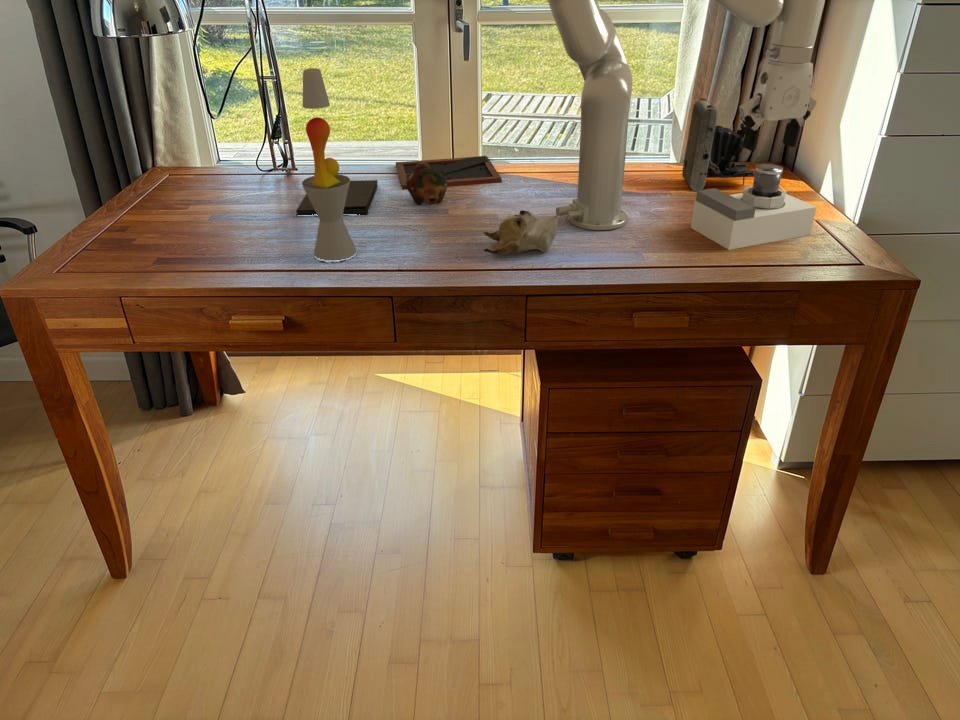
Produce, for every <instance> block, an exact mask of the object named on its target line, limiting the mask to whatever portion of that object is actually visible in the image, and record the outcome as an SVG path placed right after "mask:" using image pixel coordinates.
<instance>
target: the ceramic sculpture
mask: <svg viewBox="0 0 960 720" xmlns="http://www.w3.org/2000/svg"><path fill="white" fill-rule="evenodd" d="M558 225H559V216H557V214H555V215H553V216H546V217H545V218H537V217H536V216H535V215H534V213H532V212H530V211H529V210H521V209H520V211H519V214H514V215H508V216H506V217H505V218H504V219H503V220H502V221H501V223H500V224H499V227H498V228H499V229H498V230H496V231H492V232H490V231H483V234H484V235H485V236H486V237H488V238H489V239H491V240H494V241H495V242H493V243H492V244H491V245H490V246H489V247H487V248H483V251H484V252H485V253H489V254H492V255H496V256H497V255H498V256H505V255H510V254H512V253H514V254H515V253H523V252H527V251H532V250H537V249H538V250H539V251H541V252H542V253H547V252H548V251H549V250H550V249H551V247H552V244H553V242H554V239H555V238H556V237H557V230H558Z"/></svg>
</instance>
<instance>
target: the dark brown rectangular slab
mask: <svg viewBox="0 0 960 720" xmlns="http://www.w3.org/2000/svg"><path fill="white" fill-rule="evenodd" d="M377 190H378V180H377V179H374V180H372V179H370V180H367V179H365V180H359V179H358V180H350V184H349V189H348V193H347V197H346V202H345V206H344V211H343V214H357V215H359V214H360V215H367V216H368V213H369V211H368V210H370V208H371V206H372V203H371V202H373V199H374V197H375V194H376V192H377ZM299 203H300V204H299V205H298V206H297V209H296V210H295V211H296V216H297V215H312V214H313V215H314V214H317V213H316V211H315V209H314V207H313V205H312V203H311V201H310V199H309V198H308V196H307V194H305V195H304V197H303V199H302V200H301V201H300V202H299ZM369 207H370V208H369Z"/></svg>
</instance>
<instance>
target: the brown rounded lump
mask: <svg viewBox="0 0 960 720" xmlns="http://www.w3.org/2000/svg"><path fill="white" fill-rule="evenodd" d="M406 187H407V189H408V190H407V191H408V193H409V194H410V196H411V198H412V200H413V202H414V204H415V205H417V206H421V205H422V204H423V203H424V202H425V203H427V204H428V205H430V206H431V205H432V206H433V205H436V204H441V203H442V202H443V201H444V200H443V199H444V198H445V196H446V192H447V189H448V187H447V181H446V179H445V177H444V176H443V175H442V174H441V173H440V172H438V171H436V170H434V169H431V168H430V166H429V165H428V164H427V163H425V162H420V163H418V164H417V165H416V167H415V172H413V173H412V174H411V175H410V176H409V177H408V178H407V181H406Z"/></svg>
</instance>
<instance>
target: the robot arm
mask: <svg viewBox="0 0 960 720" xmlns="http://www.w3.org/2000/svg"><path fill="white" fill-rule="evenodd" d="M547 2H548V6H549V8H550V11H551V14H552V16H553V20H554V22H555V24H556V28H557V30H558V33H559V36H560V38H561V41H562V44H563V48H564V50H565V53H566V54H567V56H568V57H569V58H570V59H571V60H572V61H573V62H575V63H577V66H578V68H579V70H580V73H581V76H582V78H583V81H584V83H583V86H582V90H581V97H580V131H579V132H580V136H579V137H580V138H579V156H578V157H579V158H578V159H579V160H578V177H577V179H578V180H577V194H576V195H577V196H576V197H577V198H573V199H572V202H571V203H570V204H568V205H563V206H556V208H555V215H557V216H558V217H562V216H566V217H567V219H568V220H569V222H570V223H571V224H572V225H573V226H575V227H577V228H581V229H585V230H593V231H609V230H615V229H619V228H622V227H623V226H625V225H626V224H627V223H628V215H627V213H626V212H625V211H623V210H622V203H623V202H622V200H623V199H622V198H623V190H624V189H623V187H624V179H625V178H624V177H625V168H626V167H625V165H626V164H625V163H626V155H627V154H626V153H627V143H628V142H627V140H628V132H629V131H628V129H629V118H630V109H631V108H630V107H631V102H632V101H631V100H632V91H633V75H632V71H631V69H630V66H629V63H628V60H627V57H626V54H625V52H624V50H623V46H622V44H621V42H620V39H619V38H620V37H619V35H618V33H617V30H616V27H615V25H614V23H613V19H612V18H611V17H610V16H609V14H608V13H607V12H606V11H604V10H603V9H601V8H600V6H599V3H598V1H597V0H547ZM713 2H715V3H717V4H718V5H720V6H721V7H722V8H724V9H725V10H726V11H728V12H729V13H731V14H732V15H733V16H734V17H736V18H737V19H739V20H740V21H741V22H743V23H744V24H745V25H747V26H749V27H753V28H762V27H765V26H768V25H770V24H772V23H773V22H774V28H773V32H772V36H771V42H770V45H769V49H766V50H765V57H766V58H767V60H766V61H765V62H764V64H763V65H762V69H761V70H760V73H759V75H758V76H759V77H758V79H757V83H756V85H755V89H754V92H753V97H752V98H750V99H748V100H747V101H745V102H744V103H742V104H740V105H739V108H738V109H739V112H740V113H739V114H740V120H741V121H742V122H741V123H744V127H746V132H745V134H744V137H743V138H744V142H743V149H746V150H748V151H751V152H755V151H756V150H757V146H758V140H759V137H760V130H759V127H760V126H761V125H763V123H765V121H771V122H772V121H775V122H776V121H785V120H789V122H787V123H786V125H785V130H784V133H783V138H782V144H784V145H785V146H789V147H791V148H795V147H796V146H797V142H798V139H799V135H800V129H801V127H803V126H804V125H805V121H807V119H808V118H809V117H810V116H811V114H812V112H813V110H814V108H815V107H816V105H817V101H816V99H814V98H812V97H811V91H812V87H813V78H814V76H813V75H814V63H813V62H811V60H812V56H813V52H814V47H815V43H816V39H817V35H818V33H819V32H818V31H819V26H820V22H821V19H822V13H823V11H824V7H825V2H826V0H713ZM750 112H751V113H750Z"/></svg>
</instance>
